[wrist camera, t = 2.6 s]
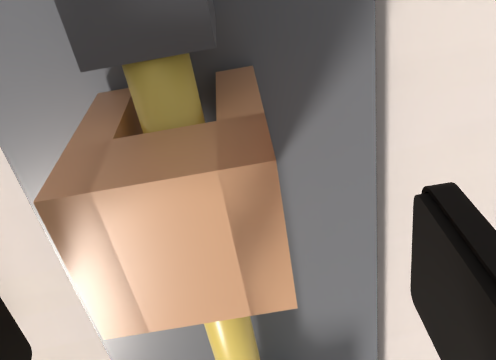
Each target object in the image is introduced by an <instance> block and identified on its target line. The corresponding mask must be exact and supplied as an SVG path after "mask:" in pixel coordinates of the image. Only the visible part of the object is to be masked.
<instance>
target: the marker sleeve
mask: <svg viewBox="0 0 496 360" xmlns="http://www.w3.org/2000/svg"><path fill="white" fill-rule="evenodd" d="M33 203H34V205H35V207H36V209H37V211H38V213H39V215H40V217H41V219H42V221H43V223H44V225H45V227H46V229H47V231H48V233H49V235H50V237H51V239H52V241H53V243H54V244H55V246H56V248H57V250H58V252H59V254H60V256H61V258H62V260H63V262H64V264H65V266H66V268H67V270H68V272H69V274H70V276H71V278H72V280H73V282H74V283H75V285H76V287H77V289H78V291H79V293H80V295H81V297H82V299H83V301H84V303H85V305H86V307H87V309H88V311H89V313H90V315H91V317H92V319H93V321H94V322H95V324H96V326H97V328H98V330H99V332H100V334H101V336H102V338H103V340H107V339H113V338H119V337H126V336H132V335H138V334H144V333H150V332H156V331H162V330H168V329H174V328H181V327H187V326H193V325H199V324H205V323H211V322H217V321H223V320H229V319H236V318H242V317H248V316H254V315H260V314H266V313H272V312H278V311H284V310H291V309H297V308H298V307H297V300H296V293H295V286H294V279H293V273H292V266H291V259H290V252H289V245H288V238H287V231H286V224H285V218H284V211H283V204H282V197H281V190H280V183H279V176H278V170H277V163H276V158H275V154H274V150H273V145H272V141H271V137H270V133H269V129H268V125H267V121H266V117H265V113H264V109H263V105H262V101H261V97H260V93H259V88H258V84H257V80H256V76H255V72H254V68H253V66H247V67H242V68H236V69H230V70H225V71H219V72H216V121H213V122H207V123H202V124H196V125H190V126H185V127H179V128H173V129H168V130H162V131H156V132H151V133H145V134H143V131H142V128H141V125H140V122H139V118H138V115H137V112H136V109H135V106H134V103H133V100H132V96H131V93H130V90H129V88H124V89H119V90H113V91H108V92H102V93H98V94H97V96H96V97H95V99H94V101H93V102H92V104H91V106H90V107H89V109H88V111H87V112H86V114H85V116H84V117H83V119H82V121H81V122H80V124H79V126H78V127H77V129H76V131H75V133H74V134H73V136H72V138H71V139H70V141H69V143H68V144H67V146H66V148H65V149H64V151H63V153H62V154H61V156H60V158H59V159H58V161H57V163H56V164H55V166H54V168H53V170H52V171H51V173H50V175H49V176H48V178H47V180H46V181H45V183H44V185H43V186H42V188H41V190H40V191H39V193H38V195H37V196H36V198H35V200H34V202H33Z"/></svg>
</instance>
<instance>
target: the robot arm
mask: <svg viewBox="0 0 496 360" xmlns="http://www.w3.org/2000/svg"><path fill="white" fill-rule="evenodd" d="M411 296H412V300H413V303H414V305H415V308H416V310H417V312H418V314H419V316H420V318H421V320H422V322H423V324H424V326H425V328H426V330H427V332H428V334H429V336H430V338H431V340H432V342H433V345H434V347H435V349H436V351H437V353H438V355H439V357H440V359H441V360H496V230H495V229H494V228H493V227H492V226H491V224H490V223H489V222H488V221H487V220H486V219H485V217H484V216H483V215H482V214H481V213H480V212H479V210H478V209H477V208H476V207H475V206H474V205H473V203H472V202H471V201H470V200H469V199H468V198H467V196H466V195H465V194H464V193H463V192H462V191H461V189H460V188H459V187H458V186H457V185H456V184H455V183H452V182H450V183H444V184H437V185H431V186H425V187H424V188H423V190H422V194H419V195H416V196H415V197H414V205H413V233H412V262H411ZM31 358H32V350H31V347H30V344H29V343H28V341H27V340H26V338H25V336H24V335H23V333H22V331H21V330H20V328H19V327H18V325H17V323H16V322H15V320H14V319H13V317H12V315H11V314H10V312H9V310H8V309H7V307H6V306H5V304H4V302H3V301H2V299H1V298H0V360H31Z"/></svg>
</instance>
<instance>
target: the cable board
mask: <svg viewBox="0 0 496 360" xmlns="http://www.w3.org/2000/svg"><path fill="white" fill-rule="evenodd" d="M247 66H253V68H254V72H255V76H256V80H257V84H258V88H259V93H260V97H261V101H262V105H263V109H264V113H265V117H266V121H267V125H268V129H269V133H270V137H271V141H272V145H273V150H274V154H275V158H276V163H277V170H278V176H279V183H280V190H281V197H282V204H283V211H284V218H285V224H286V231H287V238H288V245H289V252H290V259H291V266H292V273H293V279H294V286H295V293H296V300H297V307H298V308H297V309H291V310H284V311H278V312H272V313H266V314H260V315H254V316H248V317H242V318H236V319H229V320H223V321H217V322H211V323H205V324H199V325H193V326H187V327H181V328H174V329H168V330H162V331H156V332H150V333H144V334H138V335H132V336H126V337H119V338H113V339H107V340H103V338H102V336H101V334H100V332H99V330H98V328H97V326H96V324H95V322H94V321H93V319H92V317H91V315H90V313H89V311H88V309H87V307H86V305H85V303H84V301H83V299H82V297H81V295H80V293H79V291H78V289H77V287H76V285H75V283H74V282H73V280H72V278H71V276H70V274H69V272H68V270H67V268H66V266H65V264H64V262H63V260H62V258H61V256H60V254H59V252H58V250H57V248H56V246H55V244H54V243H53V241H52V239H51V237H50V235H49V233H48V231H47V229H46V227H45V225H44V223H43V221H42V219H41V217H40V215H39V213H38V211H37V209H36V207H35V205H34V203H33V202H34V200H35V198H36V196H37V195H38V193H39V191H40V190H41V188H42V186H43V185H44V183H45V181H46V180H47V178H48V176H49V175H50V173H51V171H52V170H53V168H54V166H55V164H56V163H57V161H58V159H59V158H60V156H61V154H62V153H63V151H64V149H65V148H66V146H67V144H68V143H69V141H70V139H71V138H72V136H73V134H74V133H75V131H76V129H77V127H78V126H79V124H80V122H81V121H82V119H83V117H84V116H85V114H86V112H87V111H88V109H89V107H90V106H91V104H92V102H93V101H94V99H95V97H96V96H97V94H98V93H102V92H108V91H113V90H119V89H124V88H129V90H130V93H131V96H132V100H133V103H134V106H135V109H136V112H137V115H138V118H139V122H140V125H141V128H142V131H143V134H145V133H151V132H156V131H162V130H168V129H173V128H179V127H185V126H190V125H196V124H202V123H207V122H213V121H216V72H219V71H225V70H230V69H236V68H242V67H247ZM0 147H1V149H2V151H3V153H4V155H5V157H6V159H7V161H8V162H9V164H10V166H11V168H12V170H13V172H14V174H15V176H16V178H17V180H18V182H19V184H20V186H21V188H22V189H23V191H24V193H25V195H26V197H27V199H28V201H29V203H30V205H31V207H32V209H33V211H34V213H35V215H36V216H37V218H38V220H39V222H40V224H41V226H42V228H43V230H44V232H45V234H46V236H47V238H48V240H49V242H50V244H51V245H52V247H53V249H54V251H55V253H56V255H57V257H58V259H59V261H60V263H61V265H62V267H63V269H64V271H65V272H66V274H67V276H68V278H69V280H70V282H71V284H72V286H73V288H74V290H75V292H76V294H77V296H78V298H79V299H80V301H81V303H82V305H83V307H84V309H85V311H86V313H87V315H88V317H89V319H90V321H91V323H92V325H93V327H94V328H95V330H96V332H97V334H98V336H99V338H100V340H101V342H102V344H103V346H104V348H105V350H106V352H107V354H108V355H109V357H110V359H111V360H378V336H377V192H376V47H375V0H0Z"/></svg>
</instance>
